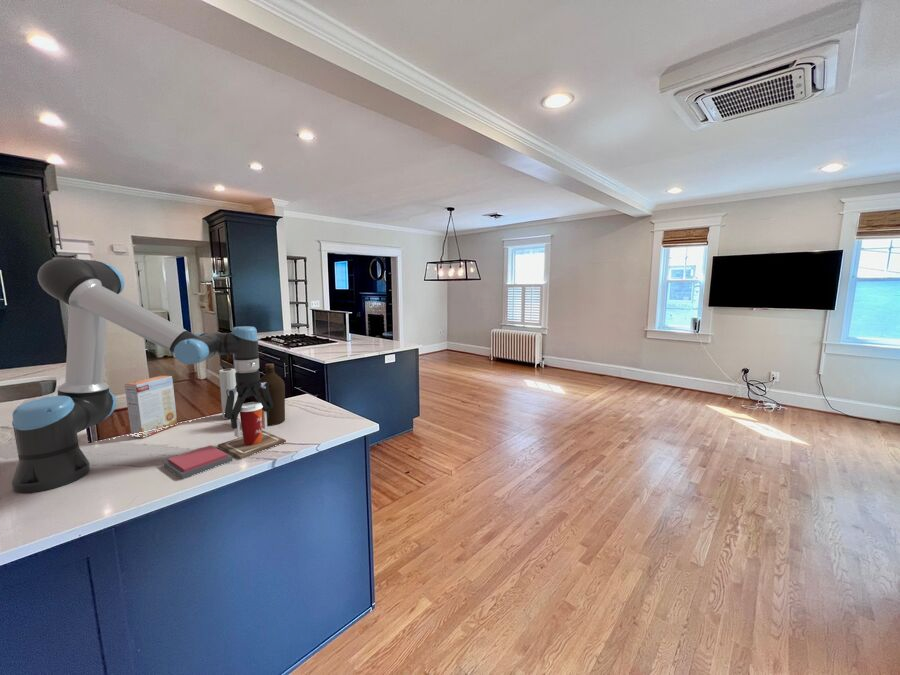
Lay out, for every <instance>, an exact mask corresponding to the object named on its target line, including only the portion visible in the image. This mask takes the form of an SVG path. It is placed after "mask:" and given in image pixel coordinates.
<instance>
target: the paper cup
mask: <svg viewBox="0 0 900 675" xmlns="http://www.w3.org/2000/svg"><path fill="white" fill-rule="evenodd" d="M262 408H263V406H262V404H261V403H260V402H258V401H250V402H245V403H244V402H243V405H242V407H241V410H240V412H239V417H240V418H239V419H240V427H241V431H242V432H241V433H242V437H243V440H244V444H245V445H255V444H258V443H260V442H261V441H262V430H263V428H262Z"/></svg>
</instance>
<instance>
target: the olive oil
mask: <svg viewBox="0 0 900 675" xmlns="http://www.w3.org/2000/svg"><path fill="white" fill-rule="evenodd" d="M264 369H265V370H264V371H265V373H264V374H263V376H262V377H260V383H263V382H266V383H269V391H270V395H271V398H272V402H273V405H274V407H273V408H270V411H268V412H269V418H268V419H267V427H269V426H276V425H279V424H282V423H284V422H285V421H286V384H285V381H284V379H283V378H282V377H281V376H279V375H278V374H277V373H276V372H275V371H276V370H275V364H274V363H273V362H272V363H266V364H265V368H264ZM258 391H259V392H260V394H261V397H262V398H263V400H264V401H265V397H264V394H263V390H262V388H261V387H260V389H259V390H258ZM265 403H266V401H265ZM262 410H263V409H262Z"/></svg>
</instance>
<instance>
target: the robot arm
mask: <svg viewBox="0 0 900 675" xmlns="http://www.w3.org/2000/svg"><path fill="white" fill-rule="evenodd" d="M37 281H38V283H39V285H40V287H41V288H42V290H43V291H44V292H46V293H47V294H48V295H50V296H51V297H53V298H54V299H56V300H58V301H61V302H62V303H64V304H65V305H66V306H67V307H69V308H68V309H69V310H68V324H67V327H68V328H67V341H66V342H67V343H66V344H67V345H66V359H65V360H66V362H65V363H66V364H65V381H64V383H62V384H61V385H60V386H58V387H57V395H53V396H47V397H46V396H45V397H42V398H39V399H32V400H30V401H27V402H25V403H23V404H20V405H19V406H17V407H16V408H15V409H14V410H13V411H12V422H11V425H12V427H13V431H14V432H13V433H14V438H15V443H16V450H17V455H18V456H17V457H18V463H17V465H16V470H15V472H14V475H13V479H12V482H11V483H12V484H11V485H12V489H13V491H14V492H15V493H20V494H28V493H36V492H42V491H47V490H50V489H55V488H58V487H62V486H64V485H68V484H71V483H72V482H75V481H78V480H79V479H82V478H83V477H85V476H86V475H88V474H89V473H90V471H91V465H90V461H89V460H88V458H87V457H86V455H85V454H84V452H83V451H82V450H81V448H80V444H79V438H78V433H80V432H83V431H85V430H87V429H89V428H90V427H92V426H95V425H97V424H100V423H101V422H103V421H105V420H106V419H108V418H109V417H110V416H111V415H112V414H113V412H114V411H115V409H116V406H117V398H116V396H115V395H114V394H112V393H113V392H112V391H111V390H110V385H109V384H108V383H107V382H105V380H104V375H105V358H106V347H107V346H106V345H107V344H106V343H107V331H108V327H107V326H108V321H109V322H111V323H113V324H115V325H117V326H118V327H121V328H123V329H124V330H127V331H128V332H131V333H133V334H135V335H137V336H138V337H141V338H143V339H145V340H146V341H149V342H151V343H153V344H155V345H157V346H159V347H161V348H162V349H165V350H167V351H169V352H170V353H173V355H174V357H175V358H176V360H177V361H178V362H180V363H181V364H184V365H195V364H199V363H202V362H204V361H205V360H208V359H210V358H213V357H215V356H225V355H230V356H231V355H233V360H234V362H233V363H234V369H235V371H236V373H235V379H236V387H235V388H234V389H231V390H229V389H228V390H227V391H226V393H227V402H226V408H225V414H224V418H226V419H225V420H230V426H231V428H232V429H233V431H234V432H233V434H234V437H237V438H240V437H242V436H241V433H242V432H241V418H238V417H239V416H238V414H239V415H240V410H241V407H242V405H243V404H244V402H245V401H246V399H247V398H249V397H254V399H256V402H260V403H261V404H262V406H263V408H262V409H263V410H262V429H263V430H267V429H268V426H267V419H268V418H269V412H268V411H270V408H273V407H274V405H273V402H272V398H271V395H270V391H269V383H266V382H263V383H260V379H261V372H260V370H259V369H260V358H259V356H260V355H259V338H258V337H259V336H258V331H257V328H256V327H255V326H251V325H250V326H244V325H243V326H234V327H232V329H231V332H199V333H195V334H194V333H192V332H190V331H188V330H186V329H185V328H183V327H181V326H180V325H177V324H175V323H174V322H171V321H169V320H168V319H166V318H164V317H162V316H160V315H159V314H156V313H154V312H153V311H151V310H149V309H146V308H145V307H143V306H141V305H139V304H137V303H136V302H134V301H131V300H130V299H128V298H126V297H124V296H122V295H121V293H122V292H123V290H124V288H125V280H124V276H123V275H122V273H121V272H120V270H118V269H117V268H116V267H115V266H113V265H111V264H110V263H107V262H103V261H102V262H101V261H98V260H92V259H81V258H72V257H71V258H70V257H56V258H53V259H50V260H47V261H46V262H44V263H43V264H42V265H41V266H40V268H39V269H38V272H37ZM260 387H261V388H262V390H263V394H264V397H265V401H266V403H265V401H264V400H263V398H262V397H261V394H260V392H259V391H258V390H259V389H260ZM236 392H238V396H237V401H236V403H235V405H234V408H233V404H234V395H235V393H236Z"/></svg>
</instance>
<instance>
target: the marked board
mask: <svg viewBox="0 0 900 675" xmlns="http://www.w3.org/2000/svg"><path fill="white" fill-rule="evenodd" d="M284 442H286V443H287V440H286V439H284V438H282V437H280V436H277V435H274V434H272V433H271V432H267V431H265V430H264V429H262V441H261V442H260V443H258V444H255V445H245V444H244V440H243V436H241V437H239V438H238V437H237V438H234V439H231V440H227V441H225V442H221V443H219V444H217V448H218V447H219V448H218V449H220V448H221V449H220V450H222V449H223V450H222V451H224V450H225V451H224V452H226V451H227V452H229V453H231V454H233V455H235V456H236V457H235V456H234V457H235V458H237V457H238V458H237V459H239V458H240V460H243V459H245V458H244V457H246V458H248V457H250V455H251V456H253V455H252V454H254V453H256V454H258V453H257V452H259V451H262V450H265V449H267V448H270V447H273V446H275V445H278V446H280V445H279V444H281V443H283V444H285V443H284ZM281 445H282V444H281ZM275 447H276V446H275ZM273 448H274V447H273ZM270 449H271V448H270ZM267 450H268V449H267ZM265 451H266V450H265ZM227 452H226V453H227ZM262 452H263V451H262ZM229 453H228V454H229ZM259 453H260V452H259ZM231 454H230V455H231ZM233 455H232V456H233ZM254 455H255V454H254ZM247 456H248V457H247ZM242 458H243V459H242Z"/></svg>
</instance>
